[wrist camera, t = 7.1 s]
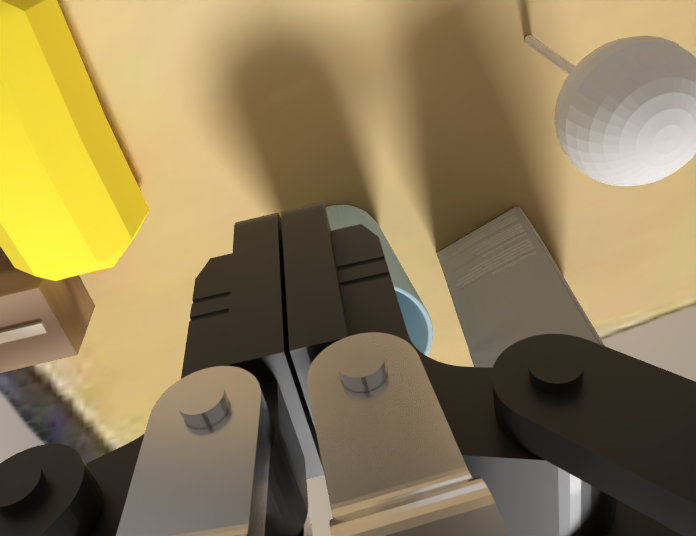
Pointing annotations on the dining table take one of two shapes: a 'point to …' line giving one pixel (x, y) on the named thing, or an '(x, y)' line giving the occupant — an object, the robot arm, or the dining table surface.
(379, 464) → the robot arm
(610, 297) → the dining table surface
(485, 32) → the dining table surface
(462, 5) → the dining table surface
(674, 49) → the lollipop
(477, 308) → the skincare box
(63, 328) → the walnut numbered block
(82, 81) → the yellow banana
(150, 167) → the dining table surface
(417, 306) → the cup
